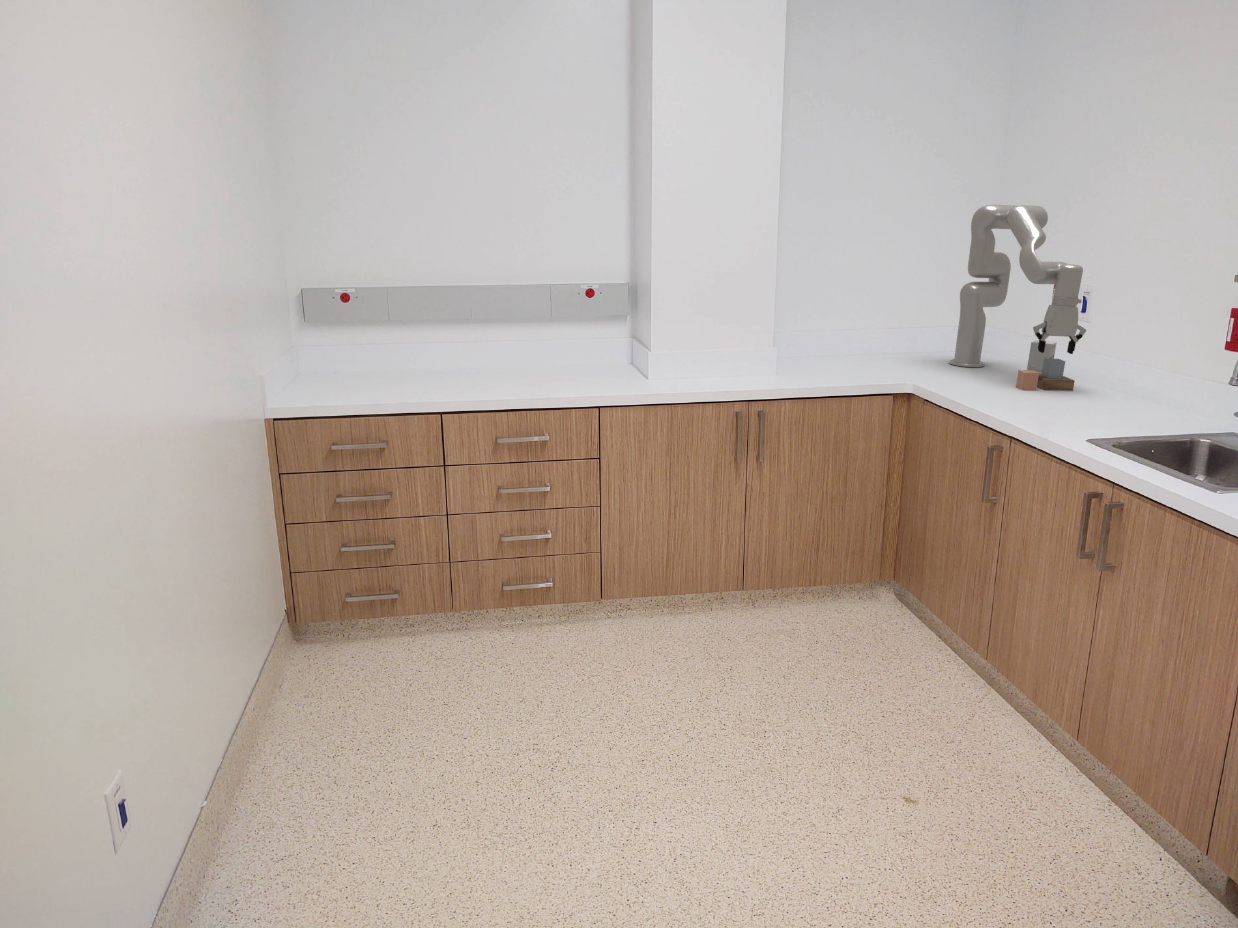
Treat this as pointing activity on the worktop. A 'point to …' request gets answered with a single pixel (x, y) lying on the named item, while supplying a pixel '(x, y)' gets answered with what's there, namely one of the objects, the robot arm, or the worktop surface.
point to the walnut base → (1055, 383)
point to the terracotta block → (1027, 380)
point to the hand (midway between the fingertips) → (1055, 352)
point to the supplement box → (1040, 355)
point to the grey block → (1053, 368)
